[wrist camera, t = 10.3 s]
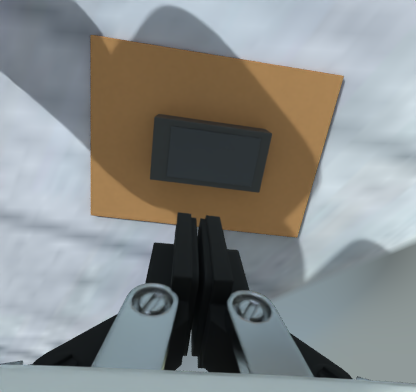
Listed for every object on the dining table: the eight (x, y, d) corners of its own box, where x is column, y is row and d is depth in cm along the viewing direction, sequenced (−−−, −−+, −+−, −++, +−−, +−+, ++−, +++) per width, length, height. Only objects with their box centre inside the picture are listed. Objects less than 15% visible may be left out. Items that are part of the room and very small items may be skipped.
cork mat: (92, 213, 33) (90, 215, 33) (92, 35, 27) (90, 34, 26) (296, 235, 35) (297, 237, 35) (341, 76, 29) (344, 75, 28)
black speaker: (149, 180, 28) (259, 193, 29) (154, 116, 26) (273, 133, 27) (153, 171, 31) (254, 183, 32) (157, 113, 29) (265, 128, 30)
